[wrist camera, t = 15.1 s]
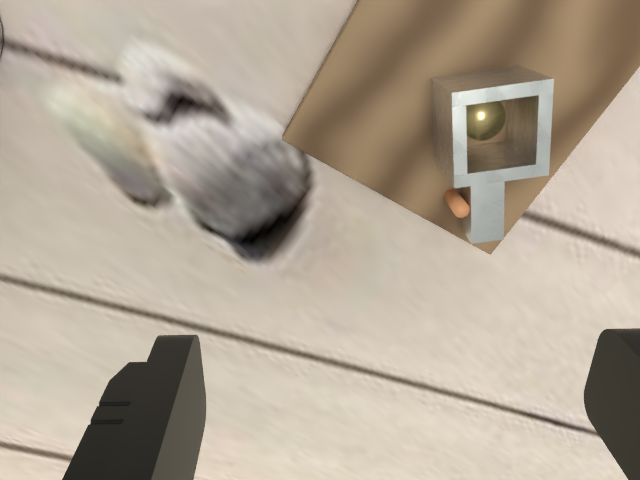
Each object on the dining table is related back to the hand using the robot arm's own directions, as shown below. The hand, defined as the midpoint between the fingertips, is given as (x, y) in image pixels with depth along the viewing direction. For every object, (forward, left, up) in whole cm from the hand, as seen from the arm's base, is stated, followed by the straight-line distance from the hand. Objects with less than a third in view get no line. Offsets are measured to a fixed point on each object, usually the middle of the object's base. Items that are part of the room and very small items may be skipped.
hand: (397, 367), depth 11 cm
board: (+9, +6, -33) cm, 35 cm away
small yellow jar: (+10, +4, -32) cm, 33 cm away
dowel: (+13, -2, -32) cm, 34 cm away
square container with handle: (+13, +1, -32) cm, 34 cm away
